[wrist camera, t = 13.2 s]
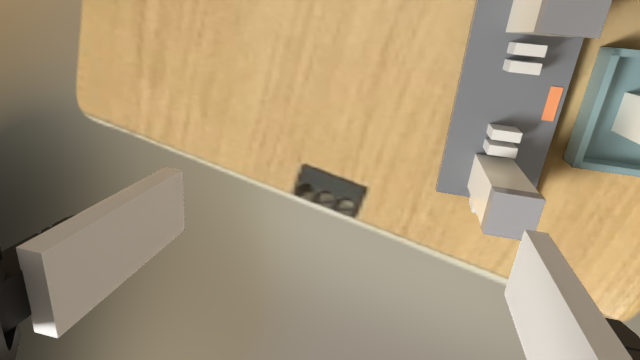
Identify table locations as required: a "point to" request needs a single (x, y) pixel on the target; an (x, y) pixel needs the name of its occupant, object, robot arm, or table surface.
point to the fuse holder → (505, 97)
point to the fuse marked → (628, 117)
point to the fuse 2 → (559, 17)
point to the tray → (606, 116)
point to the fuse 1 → (503, 197)
